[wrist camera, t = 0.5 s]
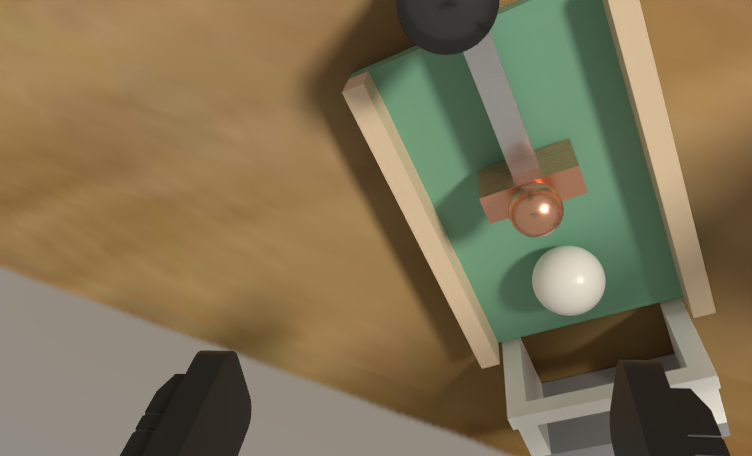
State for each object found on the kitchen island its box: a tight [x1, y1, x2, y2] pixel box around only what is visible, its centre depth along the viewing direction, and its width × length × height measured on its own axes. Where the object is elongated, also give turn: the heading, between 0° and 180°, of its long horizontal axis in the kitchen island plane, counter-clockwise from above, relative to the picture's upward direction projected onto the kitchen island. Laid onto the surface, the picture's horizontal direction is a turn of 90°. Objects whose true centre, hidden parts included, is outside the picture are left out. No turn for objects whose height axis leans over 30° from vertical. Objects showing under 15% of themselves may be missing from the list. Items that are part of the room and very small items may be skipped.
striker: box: [397, 0, 588, 237], centre depth 27 cm, size 5×14×8 cm, turn 25°
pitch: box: [342, 0, 716, 369], centre depth 34 cm, size 14×20×3 cm
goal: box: [502, 297, 731, 456], centre depth 38 cm, size 11×6×7 cm, turn 115°
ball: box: [532, 245, 606, 316], centre depth 35 cm, size 4×4×4 cm
